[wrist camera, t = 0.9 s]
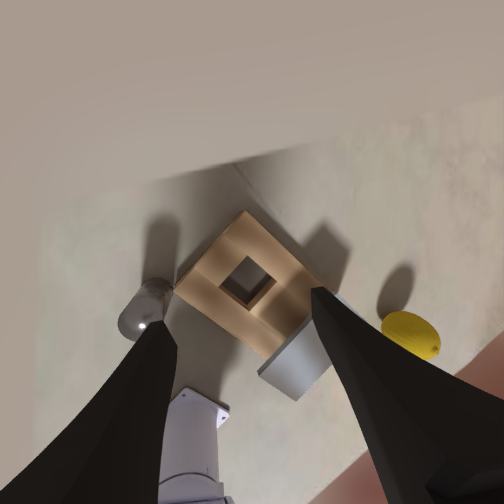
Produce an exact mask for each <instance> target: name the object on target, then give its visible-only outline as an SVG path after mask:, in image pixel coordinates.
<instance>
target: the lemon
mask: <svg viewBox="0 0 504 504" xmlns="http://www.w3.org/2000/svg"><path fill="white" fill-rule="evenodd" d="M381 330H382V334H383V335H385V336H386V337H388V338H389V339H391V340H392V341H394V342H395V343H397V344H399V345H400V346H402V347H403V348H405V349H406V350H408V351H410V352H411V353H413V354H415V355H416V356H418V357H420V358H421V359H423V360H427V359H431V358H433V357H434V356H436V355H438V354H439V350H440V347H441V341H440V337H439V335H438V333H437V331H436V330H435V329H434V327H433V326H432V325H431V324H429V323H428V322H427V321H425V320H424V319H423V318H421V317H420V316H418V315H416V314H413V313H410V312H406V311H395V312H392V313H390V314H388V315H387V316H386V317H385V318H384V319H383V321H382V325H381Z"/></svg>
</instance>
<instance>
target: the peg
mask: <svg viewBox="0 0 504 504" xmlns="http://www.w3.org/2000/svg"><path fill="white" fill-rule="evenodd" d="M172 296H173V289H172V286H171V285H170V283H169V282H168V281H166V280H164V279H161V278H152V279H149V280H147V281H146V282H145V283H144V284H143V285H142V287H141V288H140V289H139V291H138V292H137V293H136V294H135V296H134V297H133V298H132V300H131V301H130V302H129V304H128V305H127V306H126V308H125V309H124V310H123V312H122V313H121V314H120V316H119V318H118V328H119V331H120V332H121V334H122V335H123V336H124V337H126V338H127V339H129V340H132V341H137V340H138V338H139V337H140V336H141V334H142V333H143V331H144V330H145V329H146V327H147V326H148V325H149V323H150V322H155V321H160V320H163V321H164V318H165V315H166V313H167V310H168V307H169V304H170V302H171V299H172Z"/></svg>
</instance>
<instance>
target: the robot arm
mask: <svg viewBox="0 0 504 504" xmlns="http://www.w3.org/2000/svg"><path fill="white" fill-rule="evenodd" d="M311 310H312V320H313V322H314V325H315V328H316V331H317V333H318V336H319V338H320V340H321V342H322V344H323V346H324V348H325V350H326V352H327V354H328V356H329V358H330V360H331V362H332V364H333V366H334V368H335V370H336V372H337V374H338V376H339V378H340V380H341V382H342V384H343V386H344V388H345V391H346V393H347V395H348V398H349V400H350V403H351V405H352V408H353V410H354V413H355V415H356V418H357V420H358V423H359V425H360V428H361V431H362V433H363V436H364V438H365V441H366V443H367V446H368V449H369V452H370V454H371V457H372V459H373V462H374V465H375V468H376V470H377V473H378V476H379V479H380V481H381V484H382V487H383V490H384V492H385V495H386V498H387V501H388V504H504V400H503V399H500V398H498V397H496V396H494V395H491V394H489V393H487V392H485V391H483V390H481V389H478V388H476V387H474V386H472V385H470V384H468V383H466V382H464V381H462V380H460V379H458V378H456V377H454V376H452V375H451V374H449V373H447V372H445V371H443V370H441V369H440V368H438V367H436V366H434V365H432V364H430V363H429V362H427V361H425V360H423V359H421V358H420V357H418V356H416V355H415V354H413V353H411V352H410V351H408V350H406V349H405V348H403V347H402V346H400V345H399V344H397V343H395V342H394V341H392V340H391V339H389V338H388V337H386V336H385V335H383V334H382V333H381V332H379V331H378V330H376V329H375V328H374V327H372V326H371V325H370V324H368V323H367V322H366V321H364V320H363V319H362V318H360V317H359V316H358V315H357V314H355V313H354V312H353V311H352V310H350V309H349V308H348V307H347V306H346V305H345V304H343V303H342V302H341V301H340V300H339V299H338V298H336V297H335V296H334V295H333V294H332V293H331V292H330V291H329V290H328V289H327V288H325V287H324V286H321V287H316V288H311ZM177 347H178V346H177V344H176V343H175V341H174V339H173V337H172V336H171V334H170V332H169V330H168V328H167V327H166V325H165V323H164V321H163V320H160V321H155V322H150V323H149V325H148V326H147V327H146V329H145V330H144V331H143V333H142V334H141V336H140V337H139V338H138V340H137V341H136V343H135V344H134V345H133V347H132V348H131V350H130V351H129V352H128V354H127V355H126V356H125V358H124V359H123V360H122V362H121V363H120V364H119V366H118V367H117V368H116V370H115V371H114V372H113V373H112V375H111V376H110V377H109V378H108V380H107V381H106V382H105V383H104V385H103V386H102V387H101V388H100V390H99V391H98V392H97V393H96V395H95V396H94V397H93V398H92V399H91V400H90V402H89V403H88V404H87V405H86V406H85V407H84V408H83V409H82V411H81V412H80V413H79V414H78V415H77V416H76V417H75V418H74V419H73V420H72V422H71V423H70V424H69V425H68V426H67V427H66V428H65V429H64V430H63V431H62V432H61V433H60V434H59V435H58V436H57V437H56V438H55V439H54V440H53V441H52V442H51V443H50V444H49V445H48V446H47V447H46V448H45V449H44V450H43V451H42V452H41V453H40V454H39V455H38V456H37V457H36V458H35V459H34V460H33V461H32V462H31V463H30V464H29V465H28V466H27V467H26V468H25V469H24V470H23V471H22V472H20V473H19V474H18V475H17V476H16V477H15V478H14V479H13V480H12V481H11V482H10V483H9V484H7V485H6V486H5V487H4V488H3V489H2V490H1V491H0V504H235V503H234V502H233V499H232V498H231V496H225V497H224V485H223V483H222V482H219V467H218V444H217V429H218V428H219V427H220V425H221V424H222V423H223V422H224V421H225V420H226V419H227V418H228V417H229V415H230V414H229V411H228V410H226V409H224V408H223V407H221V406H219V405H217V404H216V403H214V402H212V401H211V400H209V399H207V398H205V397H204V396H202V395H200V394H199V393H197V392H195V391H193V390H192V389H190V388H184V389H183V390H182V391H181V392H180V393H179V394H178V395H177V397H176V398H175V399H174V400H173V401H172V402H171V403H170V404H169V402H170V397H171V392H172V387H173V382H174V377H175V371H176V363H177ZM183 394H185V395H183Z"/></svg>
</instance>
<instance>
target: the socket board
mask: <svg viewBox="0 0 504 504" xmlns="http://www.w3.org/2000/svg"><path fill="white" fill-rule="evenodd" d="M321 286H324V285H323V284H322V283H321V282H320V281H318V280H317V279H316V278H315V277H314V276H313V275H312V274H311V273H310V272H309V271H308V270H307V269H306V268H305V267H304V266H303V265H302V264H301V263H300V262H299V261H298V260H297V259H296V258H295V257H294V256H292V255H291V254H290V253H289V252H288V251H287V250H286V249H285V248H284V247H283V246H282V245H281V244H280V243H279V242H278V241H277V240H276V239H275V238H274V237H273V236H272V235H271V234H270V233H269V232H268V231H266V230H265V229H264V228H263V227H262V226H261V225H260V224H259V223H258V222H257V221H256V220H255V219H254V218H253V217H252V216H251V215H250V214H249V213H248V212H247V211H245V210H243V211H242V212H241V213H240V214H239V215H238V216H237V217H236V219H235V220H234V221H233V222H232V223H231V224H230V225H229V226H228V227H227V228H226V230H225V231H224V232H223V233H222V234H221V235H220V236H219V237H218V238H217V239H216V241H215V242H214V243H213V244H212V245H211V246H210V247H209V248H208V249H207V251H206V252H205V253H204V254H203V255H202V256H201V257H200V258H199V259H198V260H197V262H196V263H195V264H194V265H193V266H192V267H191V268H190V269H189V270H188V271H187V273H186V274H185V275H184V276H183V277H182V278H181V279H180V280H179V281H178V283H177V284H176V285H175V287H174V290H173V292H174V293H175V294H177V295H178V296H179V297H181V298H182V299H184V300H185V301H186V302H188V303H189V304H190V305H192V306H193V307H195V308H196V309H197V310H199V311H200V312H202V313H203V314H204V315H206V316H207V317H209V318H210V319H211V320H213V321H214V322H215V323H217V324H218V325H220V326H221V327H222V328H224V329H225V330H227V331H228V332H229V333H231V334H232V335H233V336H235V337H236V338H238V339H239V340H240V341H242V342H243V343H245V344H246V345H247V346H249V347H250V348H251V349H253V350H254V351H256V352H257V353H258V354H260V355H261V356H263V357H264V358H265V359H267V361H266V362H265V363H264V364H263V365H262V366H261V367H260V368H259V369H258V370H257V372H258V375H259V377H261V378H262V379H263V380H265V381H266V382H268V383H269V384H271V385H272V386H274V387H275V388H277V389H278V390H280V391H281V392H283V393H284V394H285V395H287V396H288V397H290V398H291V399H293V400H294V401H297V400H298V399H299V398H300V397H301V396H302V395H303V394H304V393H305V392H306V391H307V390H308V389H309V388H310V387H311V386H312V385H313V384H314V382H315V381H316V380H317V379H318V378H319V377H320V376H321V375H322V374H323V373H324V372H325V371H326V370H327V369H328V368H329V367H330V366H331V365H332V362H331V360H330V358H329V356H328V354H327V352H326V350H325V348H324V346H323V344H322V342H321V340H320V338H319V336H318V333H317V331H316V328H315V325H314V322H313V320H312V310H311V288H316V287H321ZM324 287H325V286H324ZM325 288H326V287H325ZM331 293H332V294H333V295H334V296H335V297H336V298H338V299H339V300H340V301H341V302H342V303H343V304H345V305H346V306H347V307H348V308H349V309H350V310H352V311H353V312H354V313H355V314H357V315H358V316H359V317H360V318H362V317H361V316H360V315H359V314H358V313H357V312H356V311H355V310H354V309H353V308H352V307H351V306H350V305H349V304H348V303H347V302H346V301H345V300H344V299H343V298H342V297H341V296H340V295H339V294H338V293H336V292H335V291H332V292H331ZM362 319H363V318H362ZM363 320H364V319H363ZM364 321H365V320H364Z"/></svg>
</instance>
